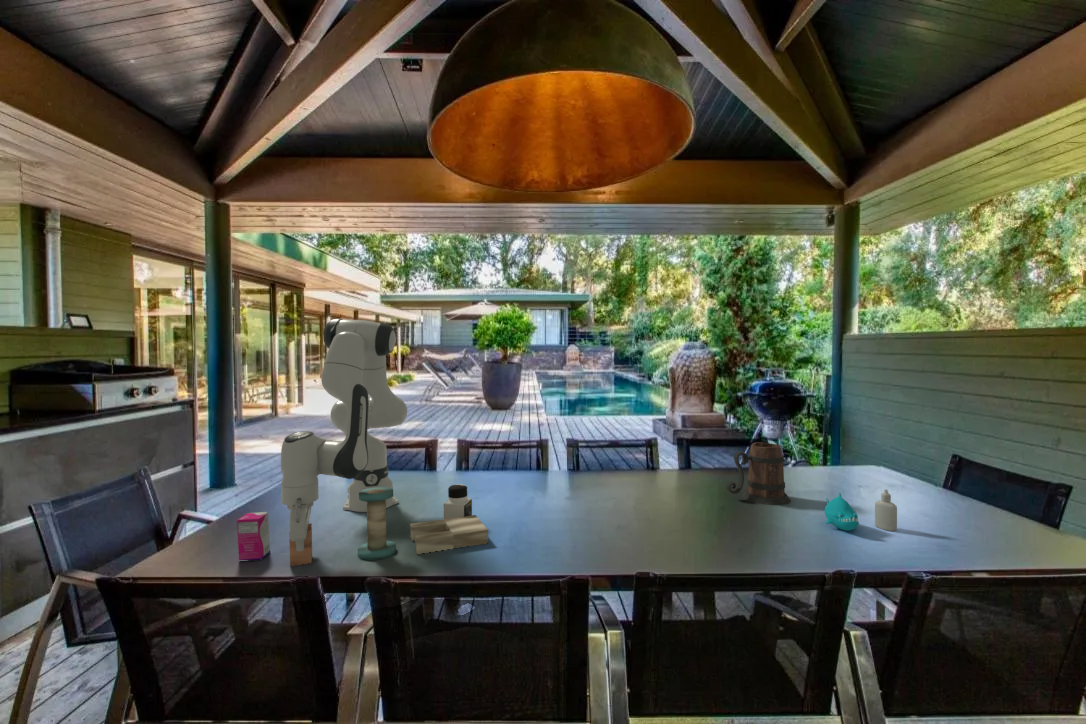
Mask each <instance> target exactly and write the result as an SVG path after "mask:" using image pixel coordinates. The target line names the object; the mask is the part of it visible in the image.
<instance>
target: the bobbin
mask: <svg viewBox="0 0 1086 724" xmlns="http://www.w3.org/2000/svg"><path fill="white" fill-rule="evenodd" d="M393 496H394V488H393V489H392V488H389V487H373V488H368V489H364V490H362V491H360V492H359V500H361V501H366V502H367V512H366V532H367V533H366V536H367V540H366V541H367V542H366V543H363V544H361V545H360V546H358V548H357V557H358V558H359V559H362V560H365V561H376V560H382V559H386V558H389V557H390V556H391V557H392V556H393V555H394V554H395V553H396V551H397V544H396V543H395V542H394V541H392V540H387V508H386V500H387V499H390V498H391V497H393Z"/></svg>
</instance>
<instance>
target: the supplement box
mask: <svg viewBox="0 0 1086 724" xmlns="http://www.w3.org/2000/svg"><path fill="white" fill-rule="evenodd" d="M269 523H270V522H269V511H260V512H247V513H246V514H244V515H242V516H241V517H239V518H238V519H237V520H236V525H237V526H236V527H237V529H236V530H237V547H238V548H237V549H238V561H239V560H261V559H262V560H264V558H266V556H268V555H269V554H270V553H271V542H270V525H269ZM267 554H268V555H267ZM262 560H261V561H262Z"/></svg>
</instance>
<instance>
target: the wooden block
mask: <svg viewBox="0 0 1086 724" xmlns="http://www.w3.org/2000/svg"><path fill="white" fill-rule="evenodd" d="M312 525H313V523H310V522H309V524H308V530H307V536H306V539H305V540H304V550H303V551H296V542H295V541H291V540H290V539H289V567H295V566H294V565H297V566H302V564H304V565H308V563H310V564H312V563H313V562H312V560H313V531H312V530H313V528H312V527H313V526H312ZM288 535H289V536H290V531H289V534H288Z"/></svg>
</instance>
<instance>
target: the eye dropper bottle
mask: <svg viewBox="0 0 1086 724" xmlns="http://www.w3.org/2000/svg"><path fill="white" fill-rule="evenodd" d="M891 500H892V495H891V494H890V493H889V491H888V489H886V488H885V489H884V491H883V492H882V493H881V495H880V500H877V501H875V502H874V526H875V527H876V528H878V529H881V530H883V531H884V530H885V531H889V532H894V531H897V530H898V506H897V504H895V503H893V502H892V501H891Z"/></svg>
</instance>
